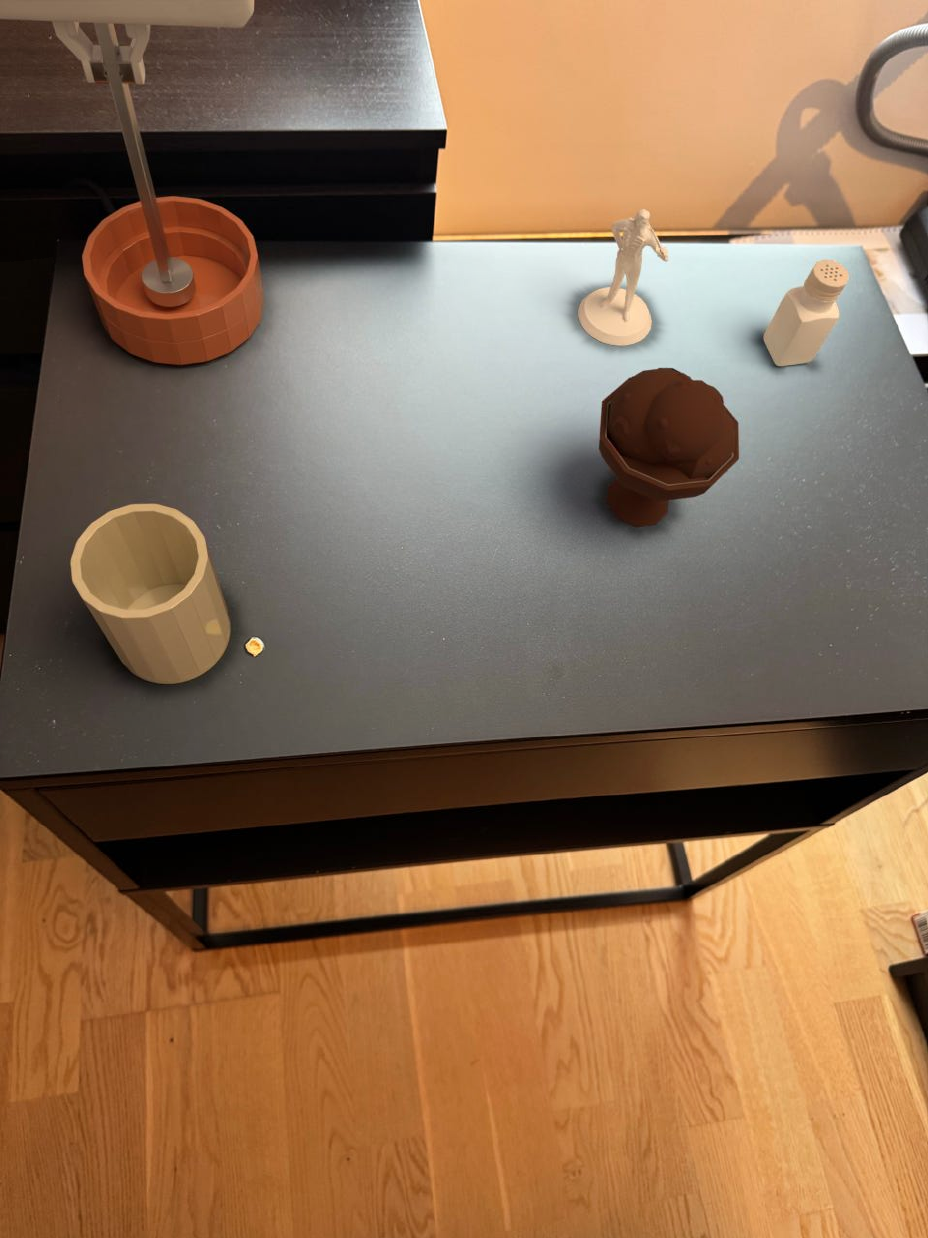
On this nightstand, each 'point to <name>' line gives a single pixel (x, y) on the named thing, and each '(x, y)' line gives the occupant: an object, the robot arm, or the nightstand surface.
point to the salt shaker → (806, 315)
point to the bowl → (220, 273)
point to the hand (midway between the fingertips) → (117, 78)
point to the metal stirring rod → (145, 189)
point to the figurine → (617, 309)
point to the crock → (153, 591)
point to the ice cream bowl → (664, 442)
